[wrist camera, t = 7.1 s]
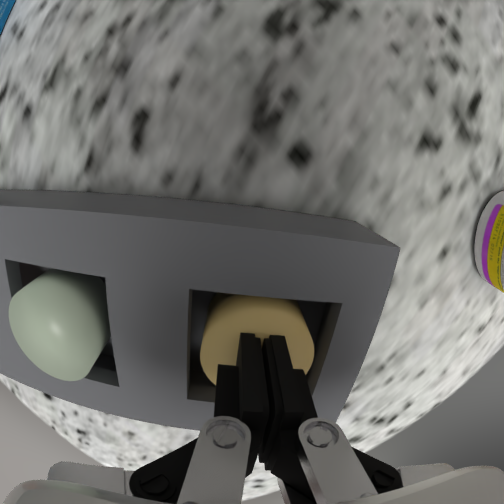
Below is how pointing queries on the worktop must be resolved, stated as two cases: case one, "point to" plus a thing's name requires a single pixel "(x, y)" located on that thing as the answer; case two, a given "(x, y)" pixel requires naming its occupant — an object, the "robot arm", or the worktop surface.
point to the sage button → (61, 322)
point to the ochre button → (252, 329)
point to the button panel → (190, 291)
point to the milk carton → (5, 11)
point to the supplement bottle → (491, 242)
